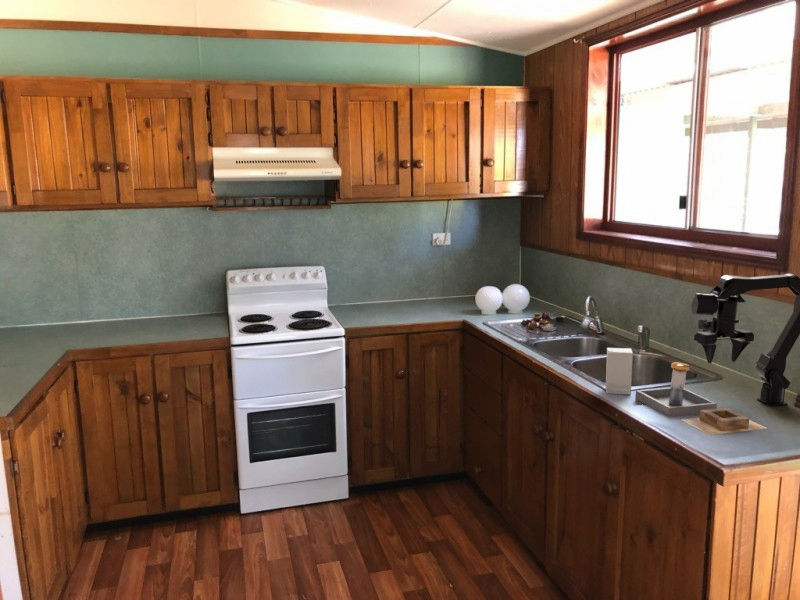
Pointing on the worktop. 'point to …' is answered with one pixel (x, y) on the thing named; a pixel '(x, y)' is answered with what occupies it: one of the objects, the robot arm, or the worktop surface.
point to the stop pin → (678, 383)
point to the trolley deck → (714, 431)
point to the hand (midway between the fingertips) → (721, 362)
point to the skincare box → (619, 370)
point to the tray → (661, 403)
